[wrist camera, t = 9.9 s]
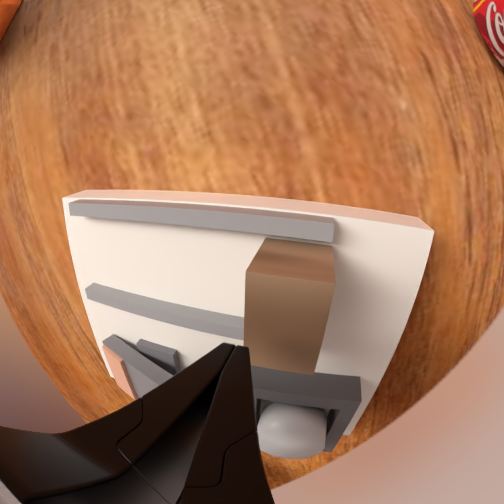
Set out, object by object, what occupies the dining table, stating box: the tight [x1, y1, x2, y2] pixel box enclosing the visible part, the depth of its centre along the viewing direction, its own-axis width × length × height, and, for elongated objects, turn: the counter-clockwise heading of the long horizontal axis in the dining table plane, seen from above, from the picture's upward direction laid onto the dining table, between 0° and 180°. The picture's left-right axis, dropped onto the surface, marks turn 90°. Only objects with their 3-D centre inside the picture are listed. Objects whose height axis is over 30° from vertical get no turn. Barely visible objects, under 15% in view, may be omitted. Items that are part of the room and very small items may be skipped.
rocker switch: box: [102, 334, 173, 400], centre depth 17 cm, size 5×9×2 cm, turn 88°
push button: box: [257, 402, 327, 459], centre depth 14 cm, size 4×4×2 cm
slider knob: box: [243, 238, 335, 375], centre depth 11 cm, size 4×3×4 cm
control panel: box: [62, 190, 434, 452], centre depth 16 cm, size 17×22×4 cm
